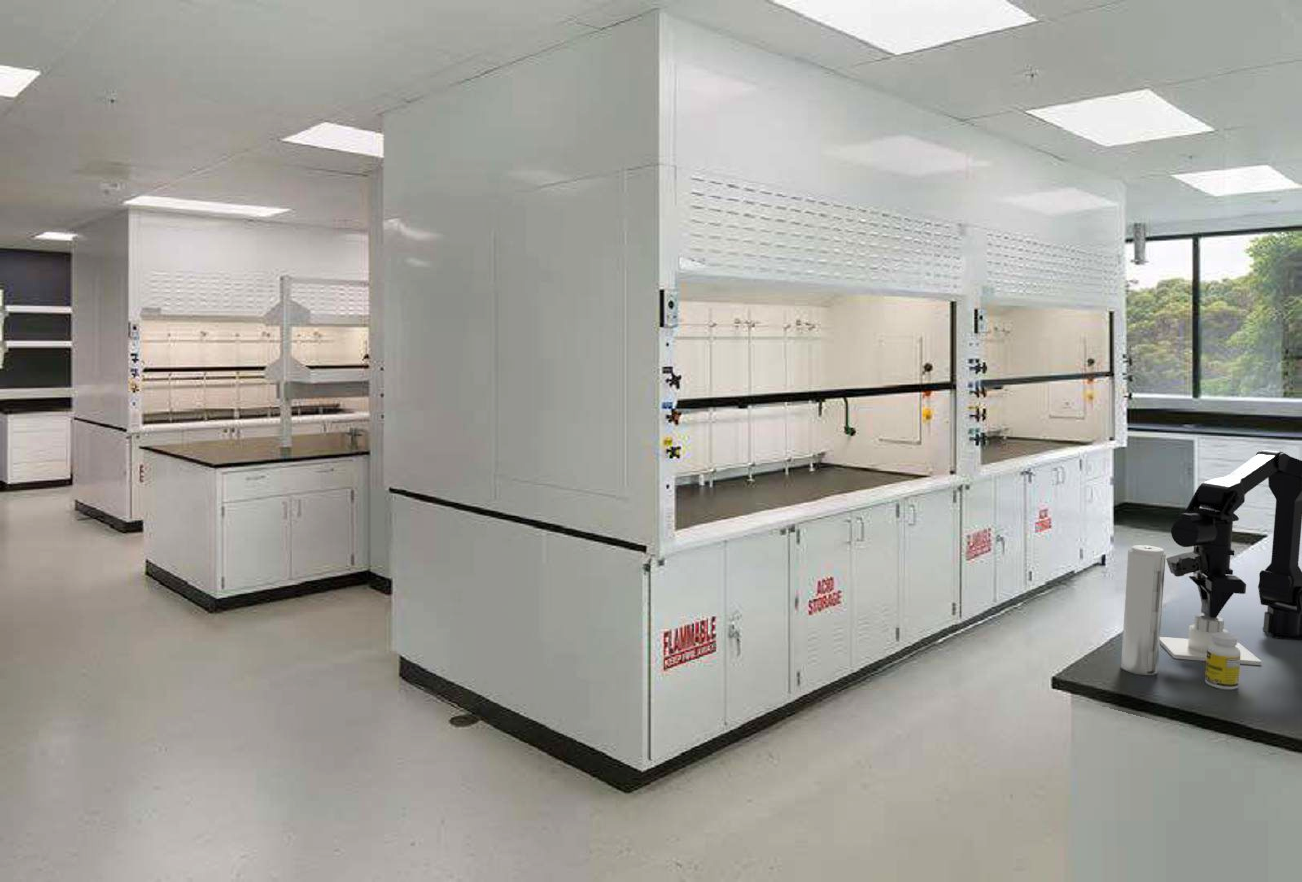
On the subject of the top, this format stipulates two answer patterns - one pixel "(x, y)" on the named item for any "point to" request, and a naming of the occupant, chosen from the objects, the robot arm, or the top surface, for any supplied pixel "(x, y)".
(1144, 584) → the white tall cylinder
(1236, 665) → the supplement bottle
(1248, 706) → the top surface
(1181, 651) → the tray
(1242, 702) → the top surface
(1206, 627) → the white tiered cylinder
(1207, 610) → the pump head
